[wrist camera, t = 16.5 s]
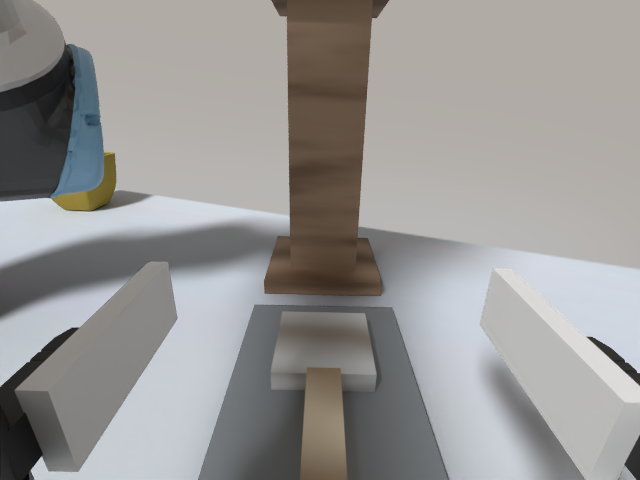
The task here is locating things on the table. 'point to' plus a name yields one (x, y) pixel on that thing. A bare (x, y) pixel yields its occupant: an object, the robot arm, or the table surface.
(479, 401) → the table surface
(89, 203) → the flower pot
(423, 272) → the table surface
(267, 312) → the mat
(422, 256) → the table surface
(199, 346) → the table surface
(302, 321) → the bar
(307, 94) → the pedestal
